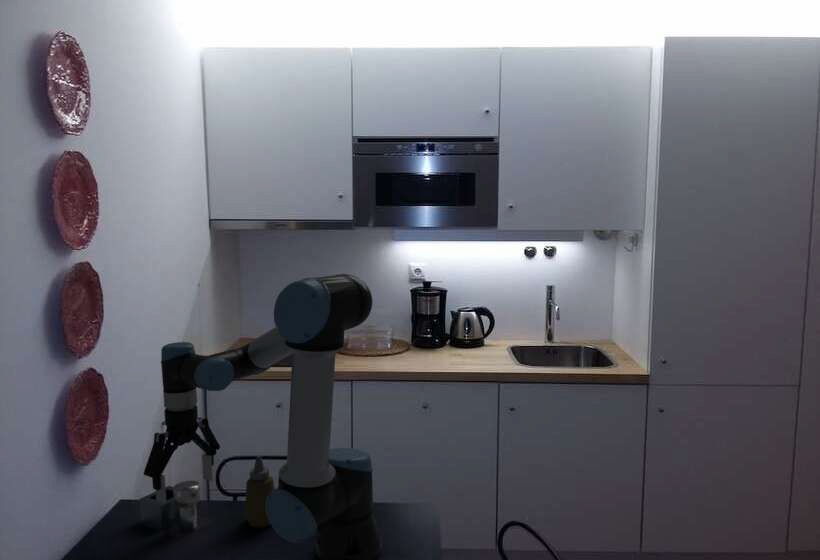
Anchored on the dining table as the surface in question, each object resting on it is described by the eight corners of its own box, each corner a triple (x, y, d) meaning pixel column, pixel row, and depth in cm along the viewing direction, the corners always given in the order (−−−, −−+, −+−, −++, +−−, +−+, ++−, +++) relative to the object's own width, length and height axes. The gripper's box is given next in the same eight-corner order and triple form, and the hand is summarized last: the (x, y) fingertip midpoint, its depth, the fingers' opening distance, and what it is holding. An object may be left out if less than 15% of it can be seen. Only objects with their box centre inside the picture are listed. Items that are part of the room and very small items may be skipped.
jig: (213, 525, 151) (211, 497, 150) (179, 543, 143) (177, 514, 142) (173, 510, 160) (171, 484, 159) (139, 527, 151) (136, 499, 150)
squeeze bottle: (270, 535, 146) (266, 463, 144) (239, 532, 147) (235, 461, 145) (283, 518, 153) (280, 450, 152) (254, 516, 155) (251, 449, 153)
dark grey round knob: (206, 524, 149) (204, 483, 148) (186, 535, 144) (183, 493, 143) (191, 518, 152) (188, 478, 151) (170, 529, 147) (167, 488, 146)
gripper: (211, 391, 158) (215, 468, 160) (123, 418, 137) (129, 507, 139) (231, 395, 154) (235, 474, 156) (143, 424, 133) (149, 515, 135)
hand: (185, 490), depth 148 cm, fingers open, 13 cm apart
